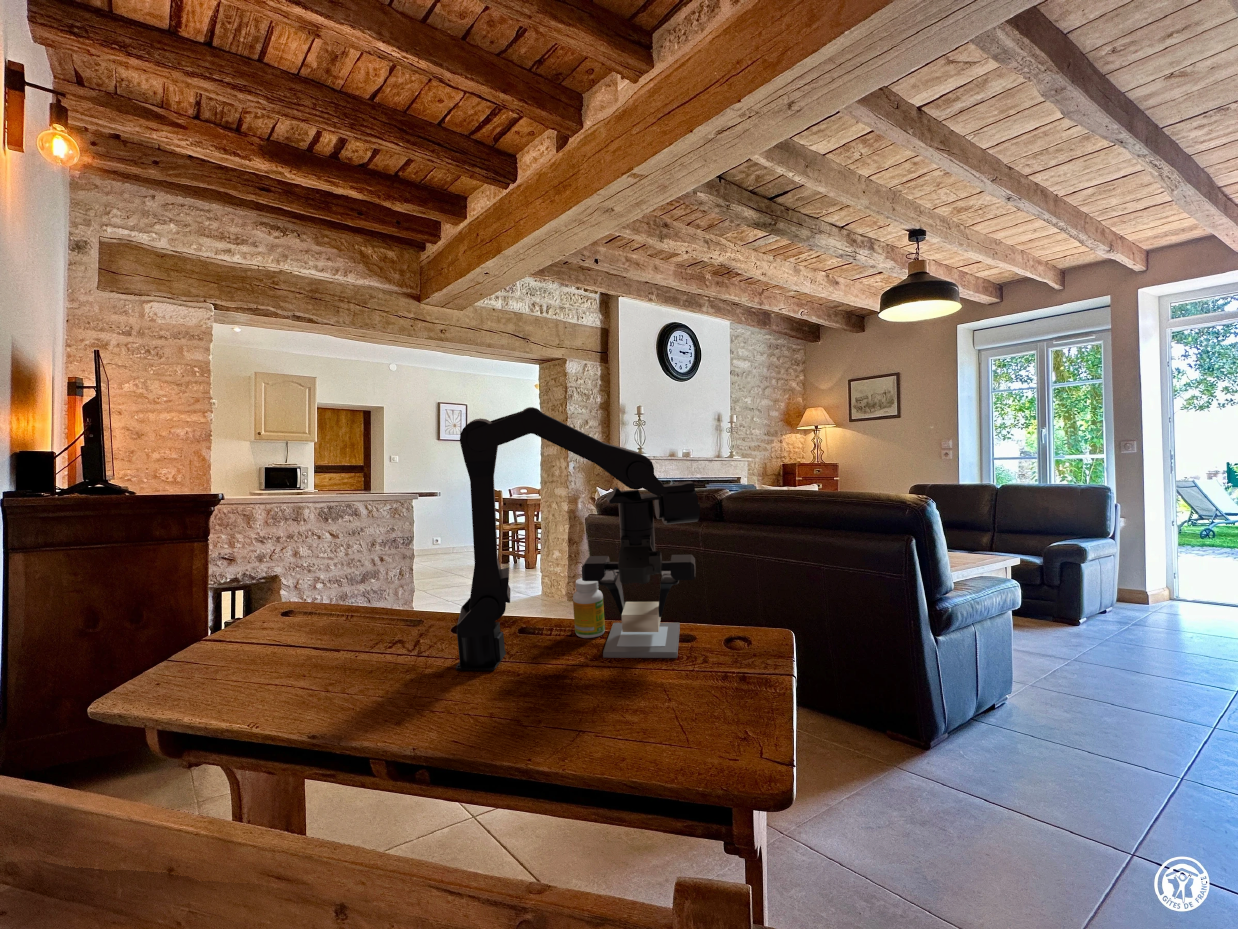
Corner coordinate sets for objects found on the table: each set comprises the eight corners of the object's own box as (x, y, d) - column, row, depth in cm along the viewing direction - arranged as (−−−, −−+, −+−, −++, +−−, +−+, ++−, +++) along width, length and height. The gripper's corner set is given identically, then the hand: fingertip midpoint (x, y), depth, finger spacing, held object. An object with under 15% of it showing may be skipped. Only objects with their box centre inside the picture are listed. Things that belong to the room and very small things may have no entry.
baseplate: (603, 657, 102) (603, 651, 102) (613, 628, 114) (613, 622, 113) (677, 658, 100) (676, 651, 100) (679, 628, 112) (679, 622, 112)
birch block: (622, 632, 104) (621, 614, 103) (626, 618, 110) (625, 601, 109) (658, 632, 103) (657, 614, 103) (660, 618, 109) (660, 601, 109)
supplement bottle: (601, 639, 109) (598, 585, 108) (571, 638, 110) (567, 585, 109) (608, 627, 114) (604, 575, 113) (579, 626, 115) (576, 575, 114)
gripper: (572, 540, 97) (578, 635, 100) (692, 538, 95) (696, 636, 97) (585, 523, 108) (590, 609, 111) (693, 521, 106) (697, 609, 108)
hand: (641, 616), depth 106 cm, fingers closed on birch block, 6 cm apart
